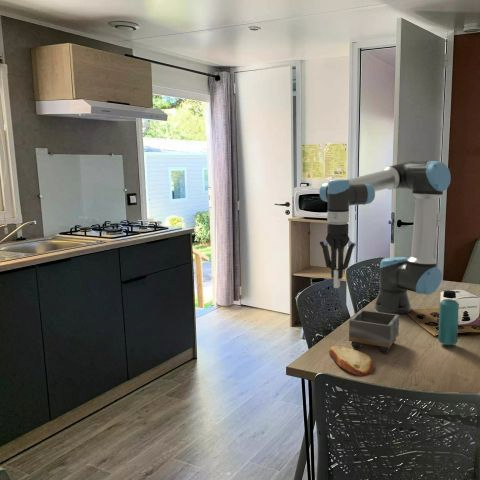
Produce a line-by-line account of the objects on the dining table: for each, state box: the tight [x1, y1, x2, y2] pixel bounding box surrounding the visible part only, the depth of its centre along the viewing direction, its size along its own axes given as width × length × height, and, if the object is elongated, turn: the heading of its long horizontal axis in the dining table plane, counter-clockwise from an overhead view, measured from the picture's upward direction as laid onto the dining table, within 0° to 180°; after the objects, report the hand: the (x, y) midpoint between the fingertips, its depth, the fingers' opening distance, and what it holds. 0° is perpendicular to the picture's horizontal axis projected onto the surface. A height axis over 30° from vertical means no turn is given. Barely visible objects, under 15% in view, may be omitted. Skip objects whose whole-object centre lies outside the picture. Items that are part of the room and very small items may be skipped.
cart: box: [348, 309, 400, 355], centre depth 178 cm, size 14×14×10 cm
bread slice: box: [328, 345, 375, 377], centre depth 165 cm, size 18×18×4 cm
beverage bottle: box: [437, 289, 460, 345], centre depth 177 cm, size 6×7×20 cm
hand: (336, 287), depth 183 cm, fingers closed
